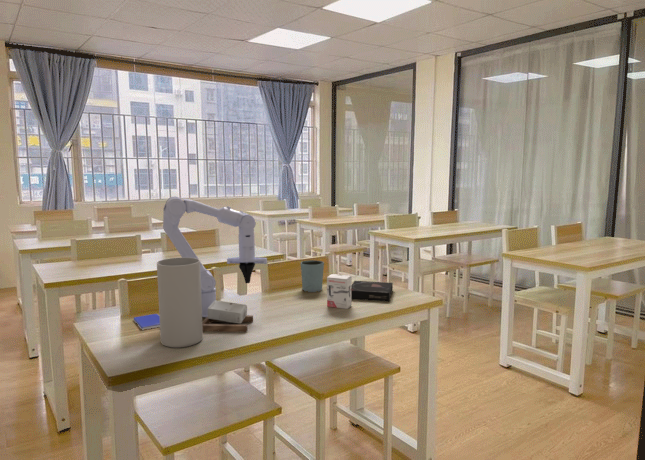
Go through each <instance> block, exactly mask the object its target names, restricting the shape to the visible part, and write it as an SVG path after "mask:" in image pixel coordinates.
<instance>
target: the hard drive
mask: <svg viewBox="0 0 645 460" xmlns="http://www.w3.org/2000/svg"><path fill="white" fill-rule="evenodd" d="M133 322H134V323H135V324H136V323H137V324H138V325H137V324H136V325H137V326H138V327H139V329H140V330H141V329H142V330H141V331H145V330H144V329H147V330H151V328H152V329H156V328H157V327H158V328H160V317H159V314H157V313H153V314H152V313H151V314H146V315H141V316H136V317H133Z"/></svg>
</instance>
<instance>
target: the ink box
mask: <svg viewBox="0 0 645 460" xmlns="http://www.w3.org/2000/svg"><path fill="white" fill-rule="evenodd" d="M351 285H352V276H351V275H345V274H336V273H332V274H329V275H328V276H327V277H326V306H327V307H329V308H336V309H337V308H338V309H346V310H347V309H349V308H350V307H352V299H351Z"/></svg>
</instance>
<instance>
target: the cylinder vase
mask: <svg viewBox="0 0 645 460" xmlns="http://www.w3.org/2000/svg"><path fill="white" fill-rule="evenodd" d="M200 262H201V260H200V259H199V258H198V259H196V258H186V257H183V258H182V257H172V258H171V257H170V258H165V259H161V260H158V261H156V275H157V276H156V277H157V292H158V313H159V314H158V315H159V317H160V327H159V333H160V342H161V344H162V345H163V346H165V347H168V348H175V349H176V348H186V347H190V346H194V345H196V344H199V343H200V342H201V341H202V340H203V337H204V335H203V334H204V333H203V332H204V331H203V328H202V322H203V317H202V301H201V275H200Z"/></svg>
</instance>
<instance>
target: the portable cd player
mask: <svg viewBox="0 0 645 460" xmlns="http://www.w3.org/2000/svg"><path fill="white" fill-rule="evenodd" d="M393 283H394V282H384V281H370V280H369V281H366V280H365V281H364V280H354V281H353V282H352V283H351V300H358V301H373V302H375V301H376V302H387V303H388V302H390V300H391V296H392V293H393V288H394V287H393V285H394V284H393Z"/></svg>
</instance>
